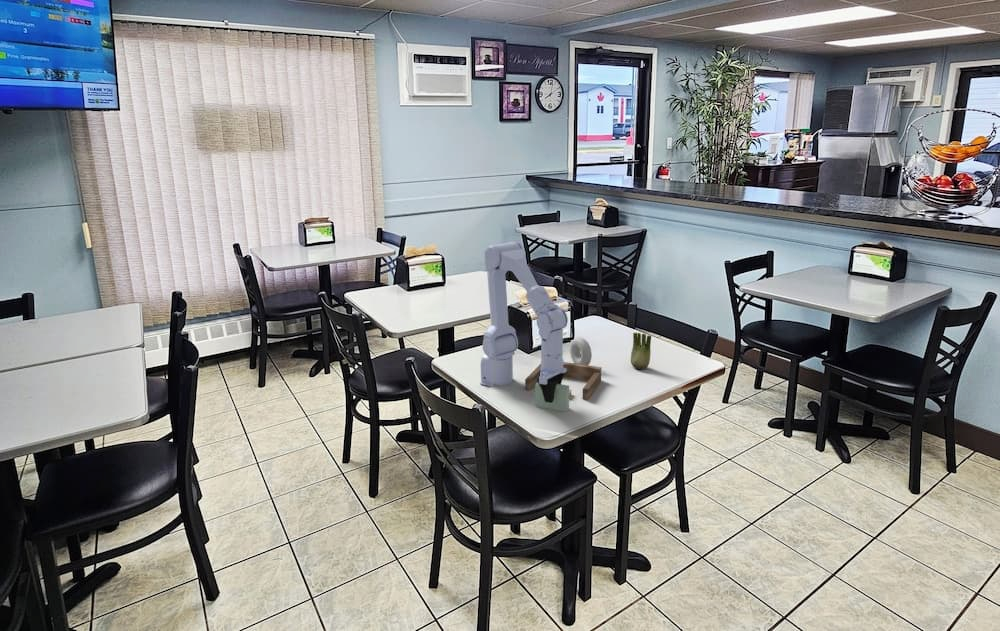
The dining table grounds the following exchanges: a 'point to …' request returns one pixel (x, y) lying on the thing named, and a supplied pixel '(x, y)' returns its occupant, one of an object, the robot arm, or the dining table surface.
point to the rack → (572, 372)
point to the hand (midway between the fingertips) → (551, 398)
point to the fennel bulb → (640, 351)
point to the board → (559, 399)
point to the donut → (585, 349)
